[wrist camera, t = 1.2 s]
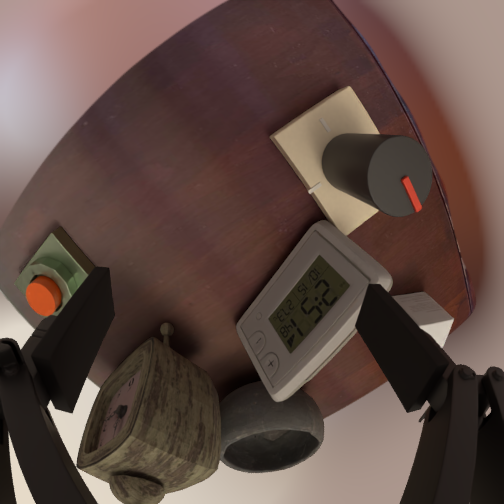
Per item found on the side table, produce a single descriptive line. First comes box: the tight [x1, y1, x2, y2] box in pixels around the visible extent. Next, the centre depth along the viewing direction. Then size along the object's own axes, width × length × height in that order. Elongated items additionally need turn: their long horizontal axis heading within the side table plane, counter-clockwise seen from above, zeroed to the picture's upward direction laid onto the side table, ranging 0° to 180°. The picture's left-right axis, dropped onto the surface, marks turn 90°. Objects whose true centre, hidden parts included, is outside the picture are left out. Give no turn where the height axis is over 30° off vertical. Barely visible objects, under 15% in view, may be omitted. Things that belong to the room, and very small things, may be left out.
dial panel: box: [270, 86, 380, 236], centre depth 27 cm, size 12×10×3 cm
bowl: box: [219, 381, 324, 473], centre depth 35 cm, size 15×15×10 cm
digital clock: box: [236, 220, 393, 402], centre depth 28 cm, size 16×9×11 cm, turn 134°
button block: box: [14, 227, 95, 318], centre depth 28 cm, size 10×8×4 cm
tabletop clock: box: [77, 323, 221, 504], centre depth 23 cm, size 14×9×25 cm, turn 134°
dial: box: [322, 133, 432, 217], centre depth 21 cm, size 6×6×9 cm
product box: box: [392, 292, 454, 348], centre depth 33 cm, size 6×6×7 cm
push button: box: [26, 276, 62, 316], centre depth 25 cm, size 4×4×2 cm
